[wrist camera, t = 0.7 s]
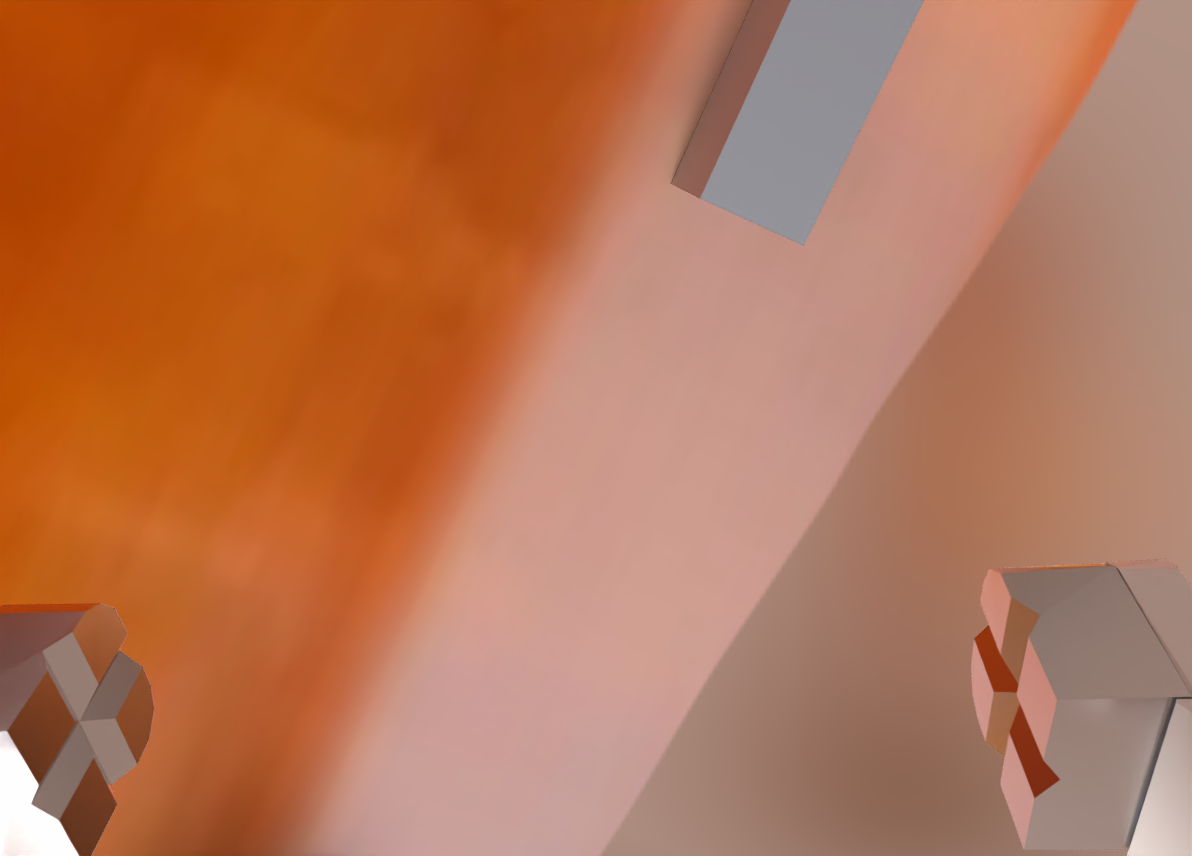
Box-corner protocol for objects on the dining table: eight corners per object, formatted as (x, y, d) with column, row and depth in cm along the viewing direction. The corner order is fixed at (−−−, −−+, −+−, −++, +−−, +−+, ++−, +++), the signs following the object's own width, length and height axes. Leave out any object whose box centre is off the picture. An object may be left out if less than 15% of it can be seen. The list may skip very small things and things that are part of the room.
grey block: (760, 224, 52) (803, 245, 44) (670, 183, 51) (699, 198, 43) (881, -32, 49) (951, -56, 41) (789, -81, 48) (842, -114, 40)
